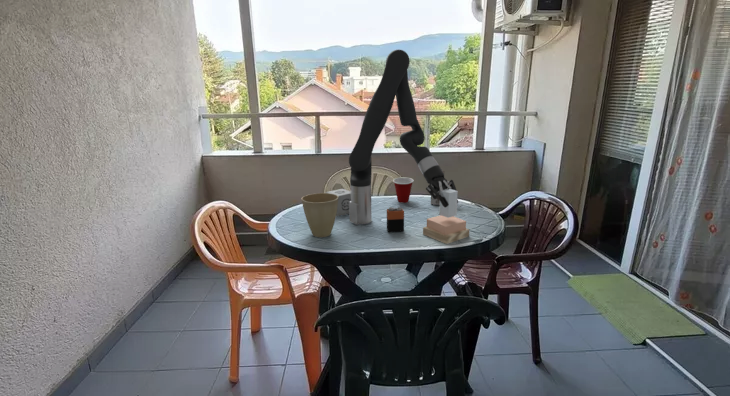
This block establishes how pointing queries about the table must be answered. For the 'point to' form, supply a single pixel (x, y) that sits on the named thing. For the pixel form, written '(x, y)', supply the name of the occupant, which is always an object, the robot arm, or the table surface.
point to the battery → (395, 219)
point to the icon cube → (342, 201)
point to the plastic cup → (403, 188)
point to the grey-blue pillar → (452, 201)
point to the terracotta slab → (446, 224)
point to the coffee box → (435, 200)
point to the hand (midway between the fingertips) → (451, 204)
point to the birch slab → (446, 238)
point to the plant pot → (320, 212)
